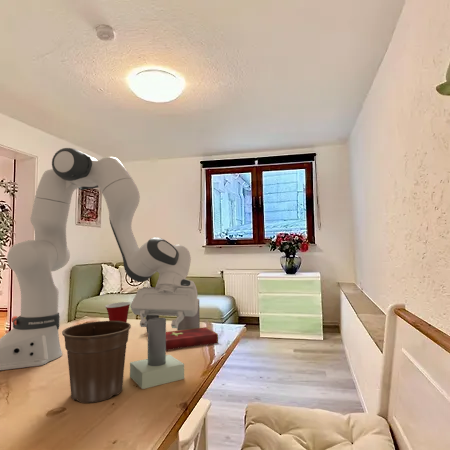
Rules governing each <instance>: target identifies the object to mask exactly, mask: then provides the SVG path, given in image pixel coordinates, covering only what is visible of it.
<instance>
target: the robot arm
mask: <svg viewBox="0 0 450 450" xmlns="http://www.w3.org/2000/svg"><path fill="white" fill-rule="evenodd" d="M51 167H52V168H50V169H47V170H45V171H44V172H43V174H42V176H41V177H40V180H39V182H38V185H37V188H36V191H35V196H34V199H33V205H32V210H31V214H30V223H31V225H32V227H33V230H34V239H29V240H25V241H21V242H18V243H16V244H14V245H13V246H12V247H10V249H9V251H8V253H7V257H6V260H7V261H6V262H7V264H8V266H9V268H10V269H11V270H12V271H13V272H14V274H15V275H16V277H17V282H18V285H19V289H20V315H19V316H17V315H13V316H12V317H11V323H12V329H11V330H10V331H8V332H7V333H5V334H4V335H3V336H2V337H0V371H4V370H6V371H7V370H12V369H13V370H14V369H21V368H30V367H38V366H43V365H45V364H47V363H49V362H51V361H54V360H57V359H58V358H60V357H61V356H63V351H62V348H61V347H62V346H61V343H60V336H59V335H60V334H59V329H60V325H61V321H60V320H61V319H60V318H61V317H60V312H59V289H58V287H57V286H56V284H55V281H54V279H53V275H52V272H56V271H59V270H61V269H62V268H64V267H65V266H66V265H67V264H68V263H69V261H70V258H71V253H70V250H69V248H68V245H67V244H68V243H67V223H68V219H69V212H70V207H71V203H72V197H73V194H74V191H75V190H77V189H78V190H80V191H83V190H84V191H85V190H90V189H91V190H92V189H97V188H99V190H100V192H101V193H102V196H103V198H104V200H105V202H106V207H107V209H108V215H109V218H108V219H109V224H110V227H111V231H112V234H113V235H114V239H115V240H116V243H117V244H116V245H117V246H118V249H119V251H120V254H121V257H122V262H123V269H124V271H125V274H126V275H127V276H128V277H129V278H130V279H132V281H135V282H139V283H142V282H147V281H148V280H149V279H151V277H153V276H154V274H156V273H158V274H159V276H158V279H157V281H156V284H155V286H154V287H152V286H150V287H147V286H144V287H141V288H139V289H137V291H136V294H135V296H134V298H133V299H132V301H131V302H130V309H131V312H132V313H133V315H136V316H137V315H139V317H140V322H139V326H140V327H141V328H146V326H147V323H148V322H147V320H146V316H147V315H159V316H169V317H171V316H172V317H176V318H175V319H172V320H171V324H170V325H171V328H172V329H177V328H178V324H179V323H180V322H181V321H182V320H183V319H184V316H191V317H193V316H195V315H196V314H197V311H198V299H199V298H198V288H197V286H196V284H195V282H194V281H193V280H190V279H186V278H187V276H188V274H189V272H190V267H191V260H192V259H191V258H192V257H191V252H190V251H189V249H188V248H187V247H186V246H185V245H182V244H171V243H170V242H169V241H167V240H165V239H164V238H161V237H156V236H155V237H151V238H150V239H149V240H147V241H146V242H145V243H143V244H142V245H141V246H140V247H139V245H138V243H137V240H136V238H135V236H134V232H133V229H132V223H133V218H134V216H135V213H136V210H137V208H138V207H139V205H140V204H139V203H140V200H141V196H140V191H139V188H138V186H137V184H136V182H135V181H134V179H133V177H132V176H131V174H130V172H129V171H128V169H127V168H126V167H125V166H124V164H123V163H122V161H120V160H119V159H118V158H117V157H114V156H105V157H102V158H100V159H96V158H95V157H93V156H92V155H91V154H88V153H85V152H82V151H81V150H79V149H76V148H71V147H64V148H60V149H59V150H58V151H56V152H55V153H54V155H53V157H52V159H51ZM177 316H178V317H177Z"/></svg>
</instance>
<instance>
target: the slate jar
mask: <svg viewBox="0 0 450 450" xmlns="http://www.w3.org/2000/svg"><path fill="white" fill-rule="evenodd" d="M166 332H167V319H166V318H165V317H159V318H151V319H148V333H147V359H148V365H150V366H161V365H164V364H165V363H166V355H167V350H166Z"/></svg>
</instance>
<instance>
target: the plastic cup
mask: <svg viewBox="0 0 450 450" xmlns="http://www.w3.org/2000/svg"><path fill="white" fill-rule="evenodd" d="M104 307H105V309H106V311H107V314H108V315H107V317H108V321H123V322H127V323H128V316H129V310H130V307H131V302H130V301H120V302H113V303H108V304H106V305H104Z"/></svg>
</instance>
